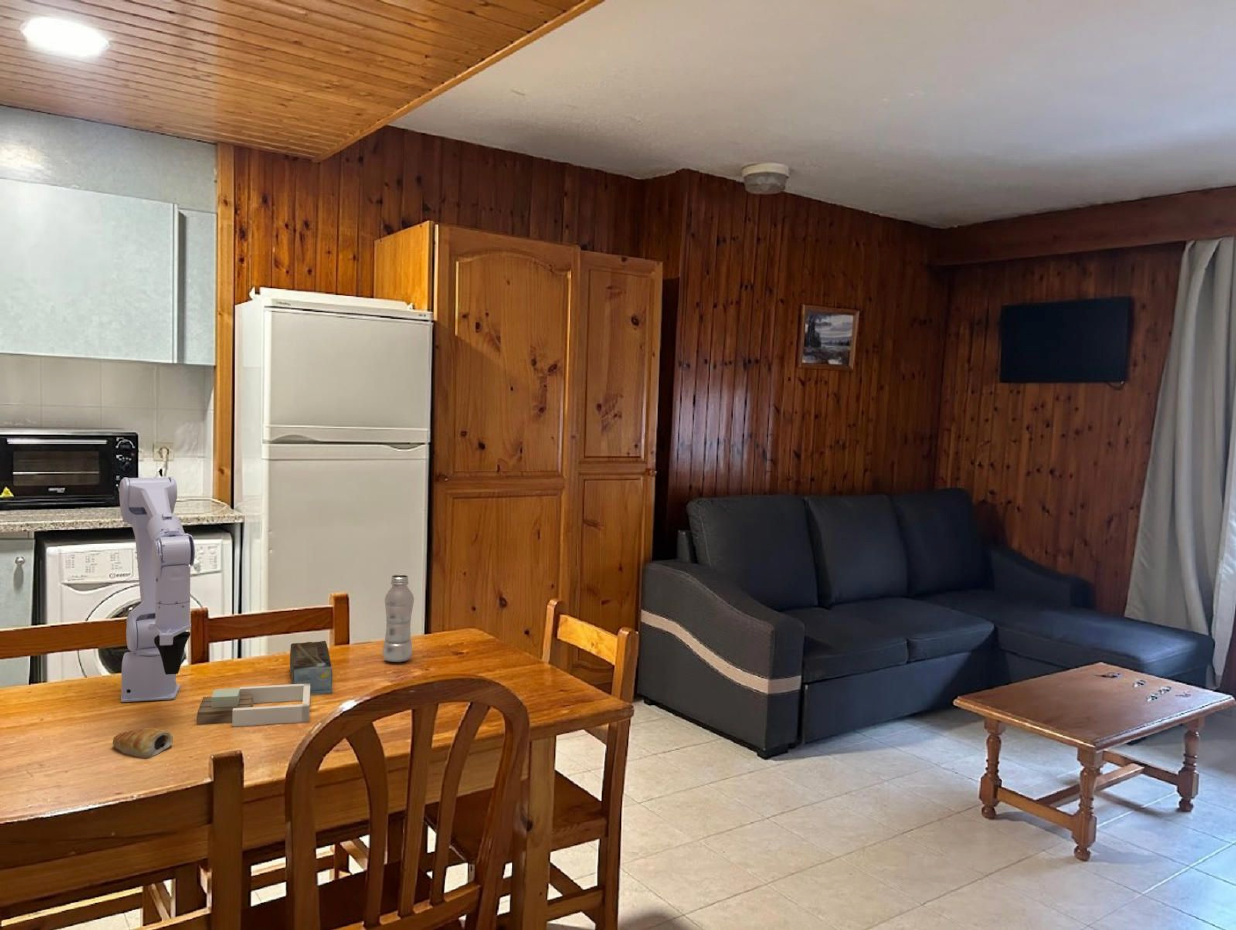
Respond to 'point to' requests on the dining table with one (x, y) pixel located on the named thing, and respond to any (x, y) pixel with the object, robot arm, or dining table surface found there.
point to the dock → (274, 712)
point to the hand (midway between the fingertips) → (172, 673)
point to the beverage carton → (311, 666)
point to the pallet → (220, 710)
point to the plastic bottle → (398, 620)
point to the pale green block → (225, 698)
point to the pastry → (143, 742)
